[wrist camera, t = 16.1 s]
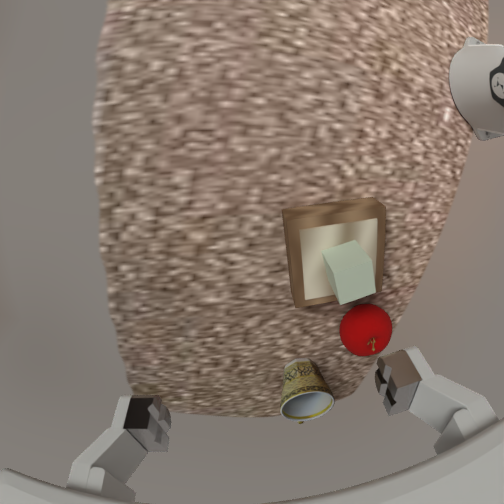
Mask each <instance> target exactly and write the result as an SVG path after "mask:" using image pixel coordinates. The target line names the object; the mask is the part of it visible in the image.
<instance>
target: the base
mask: <svg viewBox="0 0 504 504" xmlns="http://www.w3.org/2000/svg"><path fill="white" fill-rule="evenodd" d="M282 216H283V224H284V233H285V241H286V250H287V259H288V268H289V277H290V286H291V293H292V297H293V300H294V304H295V308H299V307H305V306H311V305H316V304H322V303H327V302H332V301H338V299H337V297H336V295H335V293H334V291H333V289H332V287H331V285H330V283H329V281H328V277H327V273H326V268H325V264H324V260H323V256H322V252H321V251H323V250H326V249H329V248H332V247H335V246H338V245H341V244H344V243H347V242H350V241H353V240H356V241H357V243H358V244H359V245H360V246H361V247H362V249H363V250H364V251H365V252H366V254H367V255H368V256H369V257H370V259H371V260H372V265H373V273H374V281H375V289H376V293H377V292H381V291H382V280H383V268H384V251H385V227H386V206H384V205H383V204H382V203H380V202H379V201H377V200H376V199H375V198H373V197H369V198H361V199H353V200H345V201H338V202H330V203H323V204H316V205H309V206H302V207H295V208H288V209H282Z"/></svg>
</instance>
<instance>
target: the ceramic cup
mask: <svg viewBox="0 0 504 504" xmlns="http://www.w3.org/2000/svg"><path fill="white" fill-rule="evenodd" d="M334 402H335V400H334V397H333V394H332V392H331V390H330V389H329V387H328V385H327V384H326V382H325V380H324V378H323V376H322V375H321V373H320V371H319V369H318V367H317V365H316V364H315V363H313V362H312V361H311V360H310V359H308V358H298V359H295V360H293V361H291V362H290V363H288V364H287V365H286V366H285V369H284V374H283V389H282V396H281V404H280V412H281V414H282V416H283V417H285V418H286V419H289V420H292V421H298V423H299V424H301V423H303V422H304V421H308V420H312V419H315V418H318V417H321V416H322V415H324V414H326V413H327V412H328V411H330V410H331V408H332V407H333V405H334Z"/></svg>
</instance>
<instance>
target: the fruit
mask: <svg viewBox="0 0 504 504" xmlns="http://www.w3.org/2000/svg"><path fill="white" fill-rule="evenodd" d="M391 334H392V323H391V320H390V317H389V316H388V314H387V313H386V312H385V311H384V310H383V309H381V308H379V307H378V306H376V305H373V304H360V305H357V306H355V307H354V308H352V309H351V310H349V311H348V312H347V313H346V315H345V316H344V317H343V319H342V321H341V324H340V337H341V341H342V343H343V345H344V346H345V347H346V348H347V349H348V350H349V351H350V352H351V353H353V354H355V355H358V356H369V355H373V354H376V353H378V352H381V351H382V350H383V349H385V347H386V346H387V345H388V343H389V341H390V338H391Z"/></svg>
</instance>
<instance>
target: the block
mask: <svg viewBox="0 0 504 504" xmlns="http://www.w3.org/2000/svg"><path fill="white" fill-rule="evenodd" d="M321 252H322V256H323V260H324V264H325V268H326V273H327V277H328V281H329V283H330V285H331V287H332V289H333V291H334V293H335V295H336V297H337V299H338V301H339V304H340V305H342V304H345V303H348V302H351V301H354V300H357V299H359V298H362V297H365V296H368V295H370V294H373V293H376V289H375V281H374V273H373V265H372V260H371V259H370V257H369V256H368V255H367V254H366V252H365V251H364V250H363V249H362V247H361V246H360V245H359V244H358V243H357V241H356V240H353V241H350V242H347V243H344V244H341V245H338V246H335V247H332V248H329V249H326V250H323V251H321Z"/></svg>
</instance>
